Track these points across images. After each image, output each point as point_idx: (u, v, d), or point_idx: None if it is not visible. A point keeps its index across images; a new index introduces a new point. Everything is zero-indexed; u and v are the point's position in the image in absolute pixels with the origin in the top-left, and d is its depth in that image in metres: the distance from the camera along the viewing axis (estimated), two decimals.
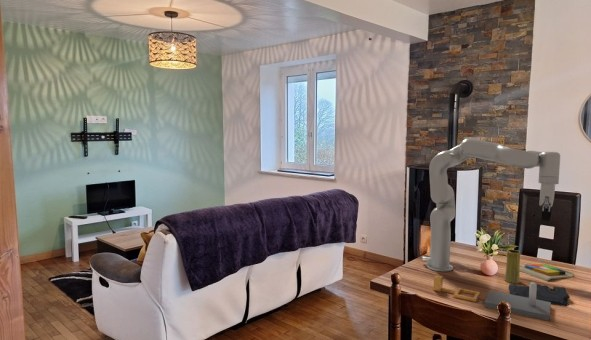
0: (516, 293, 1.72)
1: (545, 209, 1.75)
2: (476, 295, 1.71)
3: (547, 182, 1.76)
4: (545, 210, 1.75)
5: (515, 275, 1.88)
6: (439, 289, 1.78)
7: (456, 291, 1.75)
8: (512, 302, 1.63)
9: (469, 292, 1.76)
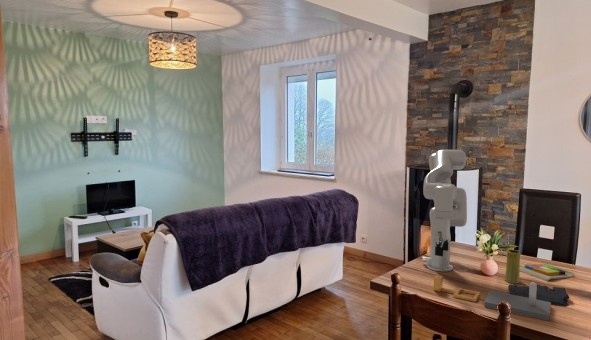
0: (515, 293, 1.72)
1: (437, 244, 1.72)
2: (476, 295, 1.71)
3: (440, 217, 1.74)
4: (437, 245, 1.73)
5: (515, 275, 1.88)
6: (439, 289, 1.78)
7: (456, 291, 1.75)
8: (512, 302, 1.63)
9: (469, 292, 1.76)
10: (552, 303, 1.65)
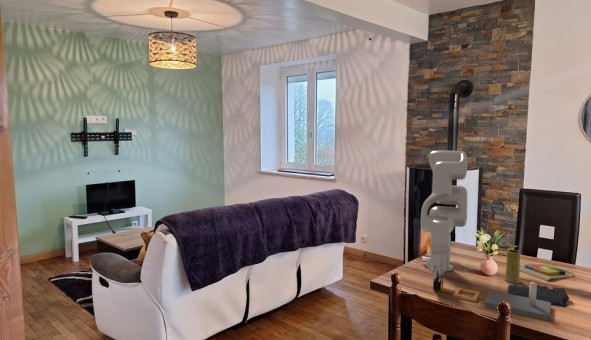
0: (514, 293, 1.72)
1: (435, 280, 1.76)
2: (476, 295, 1.71)
3: (436, 251, 1.75)
4: (435, 280, 1.77)
5: (515, 275, 1.88)
6: None
7: (456, 291, 1.75)
8: (512, 302, 1.63)
9: (469, 292, 1.76)
10: (551, 303, 1.65)
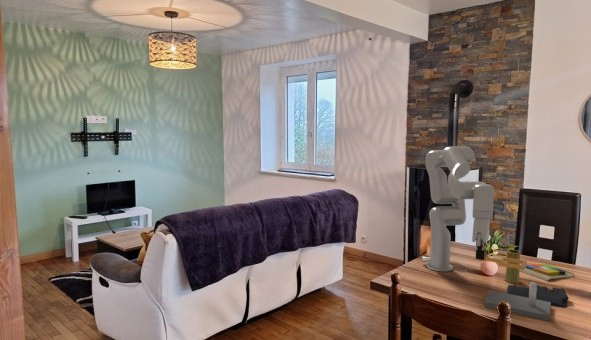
0: (514, 293, 1.72)
1: (478, 248, 1.65)
2: (524, 263, 1.60)
3: (480, 217, 1.64)
4: (478, 249, 1.66)
5: (515, 275, 1.88)
6: None
7: (501, 260, 1.64)
8: (512, 302, 1.63)
9: (515, 261, 1.64)
10: (551, 304, 1.64)
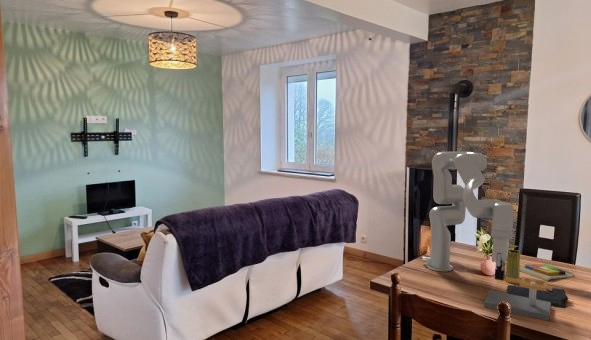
0: (513, 294, 1.72)
1: (498, 268, 1.62)
2: (545, 284, 1.57)
3: (499, 237, 1.61)
4: (498, 269, 1.62)
5: (515, 275, 1.88)
6: None
7: (521, 280, 1.61)
8: (512, 302, 1.63)
9: (535, 281, 1.61)
10: None
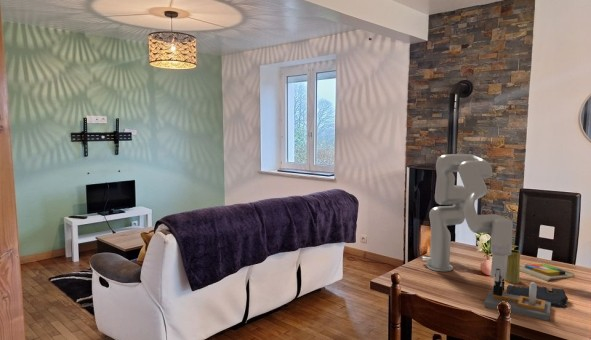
0: (513, 294, 1.71)
1: (496, 284, 1.62)
2: (543, 304, 1.58)
3: (498, 253, 1.62)
4: (496, 285, 1.62)
5: (515, 275, 1.88)
6: (500, 297, 1.65)
7: (519, 299, 1.62)
8: (512, 302, 1.63)
9: None
10: None
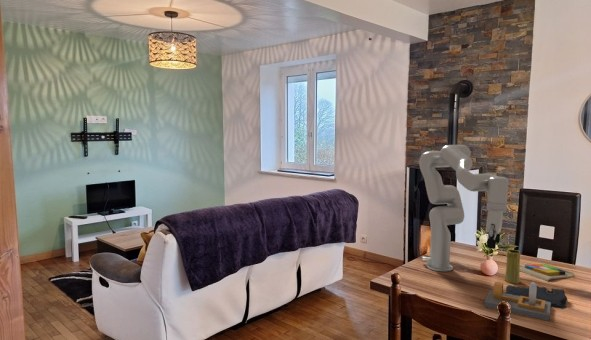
0: (512, 294, 1.71)
1: (490, 237, 1.68)
2: (543, 304, 1.58)
3: (494, 209, 1.69)
4: (490, 238, 1.68)
5: (515, 275, 1.88)
6: (500, 297, 1.65)
7: (519, 299, 1.62)
8: (512, 302, 1.63)
9: None
10: None
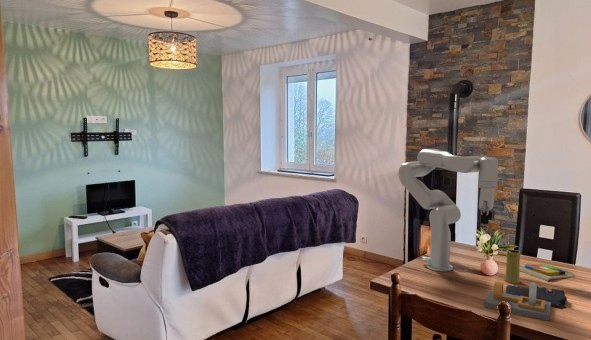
0: (511, 293, 1.71)
1: (483, 213, 1.81)
2: (543, 304, 1.58)
3: (486, 187, 1.83)
4: (483, 214, 1.81)
5: (515, 275, 1.88)
6: (500, 297, 1.65)
7: (519, 299, 1.62)
8: (512, 302, 1.63)
9: None
10: None
